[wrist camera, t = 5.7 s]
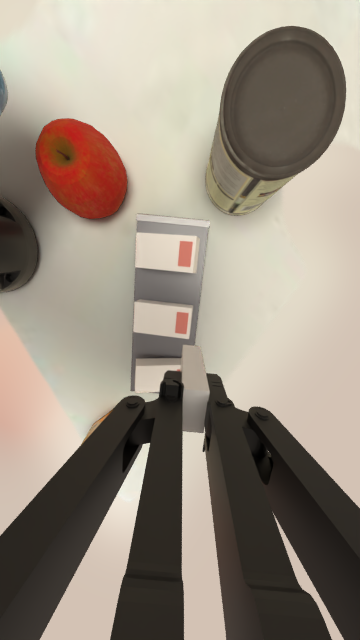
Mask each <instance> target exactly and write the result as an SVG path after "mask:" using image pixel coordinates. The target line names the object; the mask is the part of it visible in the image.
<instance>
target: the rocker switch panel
mask: <svg viewBox="0 0 360 640" xmlns="http://www.w3.org/2000/svg"><path fill="white" fill-rule="evenodd" d="M136 220H137V232H139V233H155V234H172V235H188V236H197V237H198V238H199V239H200V244H199V253H198V262H197V271H196V273H186V272H177V271H167V270H157V269H148V268H138V267H135V291H134V302H135V301H137V300H139V299H142V300H151V301H159V302H168V303H177V304H186V305H193V311H192V320H191V329H190V336H189V339H184V338H176V337H168V336H160V335H152V334H145V333H137V332H133V343H132V369H131V391H135V368H136V359H144V358H182V349H183V345H192V346H194V344H195V336H196V328H197V319H198V311H199V303H200V294H201V286H202V278H203V269H204V261H205V252H206V244H207V236H208V229H209V226H210V221H209V220H199V219H189V218H179V217H169V216H159V215H149V214H137V217H136ZM133 326H134V317H133ZM149 393H159V392H149Z"/></svg>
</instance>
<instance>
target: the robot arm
mask: <svg viewBox="0 0 360 640" xmlns="http://www.w3.org/2000/svg"><path fill="white" fill-rule="evenodd" d="M7 100H8V90H7V85H6V82H5V79H4V77H3V74H2V72H1V70H0V116H1V114H2V112H3V110H4V108H5V106H6V103H7ZM37 255H38V251H37V243H36V238H35V235H34V232H33V230H32V228H31V226H30V224H29V222H28V221H27V219H26V218H25V216H24V215H23V214H22V213H21V212H20V210H19V209H18V208H17V207H15V206H14V205H13V204H12V203H11V202H9V201H8V200H6V199H4V198H3V197H1V196H0V292H7V291H12V290H15V289H17V288H19V287H21V286H22V285H23V284H25V283H26V282H27V281H28V280H29V278H30V277H31V276H32V274H33V272H34V270H35V267H36V263H37ZM204 426H205V439H204V445H203V452H204V451H205V452H206V461H207V470H208V478H209V487H210V496H211V505H212V514H213V522H214V531H215V541H216V548H217V558H218V567H219V576H220V585H221V593H222V603H223V611H224V620H225V630H226V640H332V639H331V636H330V634H329V631H328V629H327V626H326V624H325V621H324V619H323V617H322V614H321V612H320V610H319V608H318V606H317V604H316V602H315V601H314V599H313V598H312V596H311V595H310V594H309V593H307V592H306V591H304V590H302V588H301V587H300V585H299V584H298V581H297V579H296V577H295V574H294V571H293V568H292V565H291V562H290V560H289V557H288V554H287V551H286V548H285V546H284V543H283V540H282V537H281V535H280V532H279V529H278V526H277V523H276V521H275V518H274V515H275V516H276V518H277V520H278V522H279V524H280V526H281V527H282V529H283V531H284V533H285V535H286V537H287V538H288V540H289V542H290V544H291V545H292V547H293V549H294V551H295V553H296V554H297V556H298V558H299V560H300V561H301V563H302V565H303V567H304V569H305V570H306V572H307V574H308V576H309V578H310V579H311V581H312V583H313V585H314V587H315V588H316V590H317V592H318V594H319V595H320V597H321V599H322V601H323V602H324V604H325V606H326V608H327V610H328V612H329V613H330V615H331V617H332V619H333V620H334V622H335V624H336V626H337V628H338V629H339V631H340V633H341V635H342V637H343V638H344V640H360V508H359V507H358V506H357V505H356V504H355V503H354V502H353V501H352V500H351V499H350V497H349V496H348V495H347V494H346V493H345V492H344V491H343V490H342V489H341V488H340V487H339V486H338V484H337V483H335V481H334V480H333V479H332V478H331V477H330V476H329V475H328V474H327V473H326V471H325V470H324V469H323V468H322V467H321V466H320V465H319V464H318V463H317V462H316V461H315V459H314V458H313V457H312V456H311V455H310V454H309V453H308V452H307V451H306V450H305V449H304V448H303V446H302V445H301V444H300V443H299V442H298V441H297V440H296V439H295V438H294V437H293V436H292V435H291V434H290V432H289V431H288V430H287V429H286V428H285V427H284V426H283V425H282V424H281V423H280V421H278V419H277V418H276V417H275V416H274V415H273V414H272V413H271V412H270V411H268V410H266V409H264V408H261V407H251V408H250V409H249V412H246V411H242V410H240V409H237V408H235V406H234V404H233V402H232V401H231V400H230V399H229V398H227V395H226V392H225V389H224V386H223V384H222V380H221V378H220V377H219V376H218V375H217V374H208V373H206V371H205V366H204V361H203V356H202V352H201V347H200V346H192V345H183V349H182V358H181V368H180V371H172V370H168V371H167V372H165V373H164V378H163V381H162V382H161V383H160V392H159V398H158V399H156V400H154V401H151V402H145V400H144V399H143V398H141V397H139V396H128V397H125V398H123V399H122V400H121V401H120V402H119V403H118V404H117V405H116V407H115V408H114V409H113V410H112V411H111V412H110V413H109V414H108V416H107V417H106V418H105V419H104V420H103V421H102V422H101V423H100V425H99V426H98V427H97V428H96V429H95V430H94V431H93V432H92V434H91V435H90V436H89V437H88V438H87V439H86V440H85V441H84V442H83V444H82V445H81V446H80V447H79V448H78V449H77V450H76V452H75V453H74V454H73V455H72V456H71V457H70V458H69V459H68V460H67V462H66V463H65V464H64V465H63V466H62V467H61V468H60V469H59V471H58V472H57V473H56V474H55V475H54V476H53V477H52V478H51V480H50V481H49V482H48V483H47V484H46V485H45V486H44V487H43V489H42V490H41V491H40V492H39V493H38V494H37V495H36V497H35V498H34V499H33V500H32V501H31V502H30V503H29V504H28V506H26V508H25V509H24V510H23V511H22V512H21V513H20V514H19V516H18V517H17V518H16V519H15V520H14V521H13V522H12V523H11V524H10V526H9V527H8V528H7V529H6V530H5V531H4V532H3V534H2V535H1V536H0V640H40V638H41V636H42V634H43V632H44V630H45V628H46V627H47V625H48V623H49V621H50V619H51V617H52V615H53V613H54V612H55V610H56V608H57V606H58V604H59V602H60V600H61V598H62V597H63V595H64V593H65V591H66V589H67V587H68V585H69V583H70V581H71V580H72V578H73V576H74V574H75V572H76V570H77V568H78V566H79V565H80V563H81V561H82V559H83V557H84V555H85V553H86V551H87V550H88V548H89V546H90V544H91V542H92V540H93V538H94V536H95V534H96V533H97V531H98V529H99V527H100V525H101V523H102V521H103V520H104V517H105V516H106V514H107V512H108V510H109V508H110V506H111V504H112V502H113V501H114V499H115V497H116V495H117V493H118V491H119V489H120V488H121V486H122V484H123V482H124V480H125V478H126V476H127V474H128V473H129V471H130V469H131V467H132V465H133V463H134V461H135V459H136V458H137V456H138V454H139V452H140V450H141V448H142V445H143V444H146V443H150V448H149V453H148V458H147V463H146V469H145V474H144V479H143V485H142V490H141V495H140V500H139V506H138V511H137V516H136V522H135V527H134V533H133V538H132V543H131V549H130V553H129V559H128V564H127V569H126V573H125V575H124V577H123V580H122V585H121V588H120V594H119V598H118V603H117V608H116V613H115V618H114V623H113V628H112V633H111V639H110V640H184V591H183V581H182V571H181V570H182V568H181V567H182V566H181V565H182V564H181V563H182V431H187V432H198V433H203V432H204ZM268 451H269V452H268ZM270 454H271V455H270ZM273 513H274V515H273Z"/></svg>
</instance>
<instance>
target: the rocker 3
mask: <svg viewBox="0 0 360 640" xmlns="http://www.w3.org/2000/svg"><path fill="white" fill-rule="evenodd" d="M180 368H181V358H144V359H136V368H135V393H145V392H160V383H161V382H162V381H163V378H164V373H165V372H167V371H168V370H172V371H180Z"/></svg>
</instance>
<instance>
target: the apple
mask: <svg viewBox="0 0 360 640" xmlns="http://www.w3.org/2000/svg"><path fill="white" fill-rule="evenodd" d="M35 151H36V160H37V163H38V167H39V170H40V173H41V175H42V177H43V180H44V182H45V184H46V186H47V188H48V189H49V191H50V192H51V194H52V195H53V196H54V197H55V199H56V200H57V201H58V202H59V203H60V204H61V205H62V206H64V207H65V208H66V209H68V210H70V211H72V212H73V213H75V214H77V215H79V216H80V217H84V218H89V219H95V218H102V217H106V216H109V215H112V214H113V213H115V212H116V211H117V210H118V208H119V207H120V205H121V203H122V202H123V199H124V196H125V193H126V190H127V176H126V170H125V167H124V165H123V163H122V161H121V159H120V157H119V155H118V153H117V151H116V150H115V149H114V147H113V146H112V144H111V143H110V142H109V141H108V139H107V138H106V137H105V136H104V135H103V134H101V133H100V132H99V131H97V130H96V129H95V128H94V127H92V126H91V125H88V124H86V123H83V122H81V121H78V120H75V119H68V118H67V119H57V120H54V121H51V122H50V123H49V124H47V125H46V126H44V128H43V130H42V132H41V134H40V136H39V138H38V141H37V143H36V150H35Z"/></svg>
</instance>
